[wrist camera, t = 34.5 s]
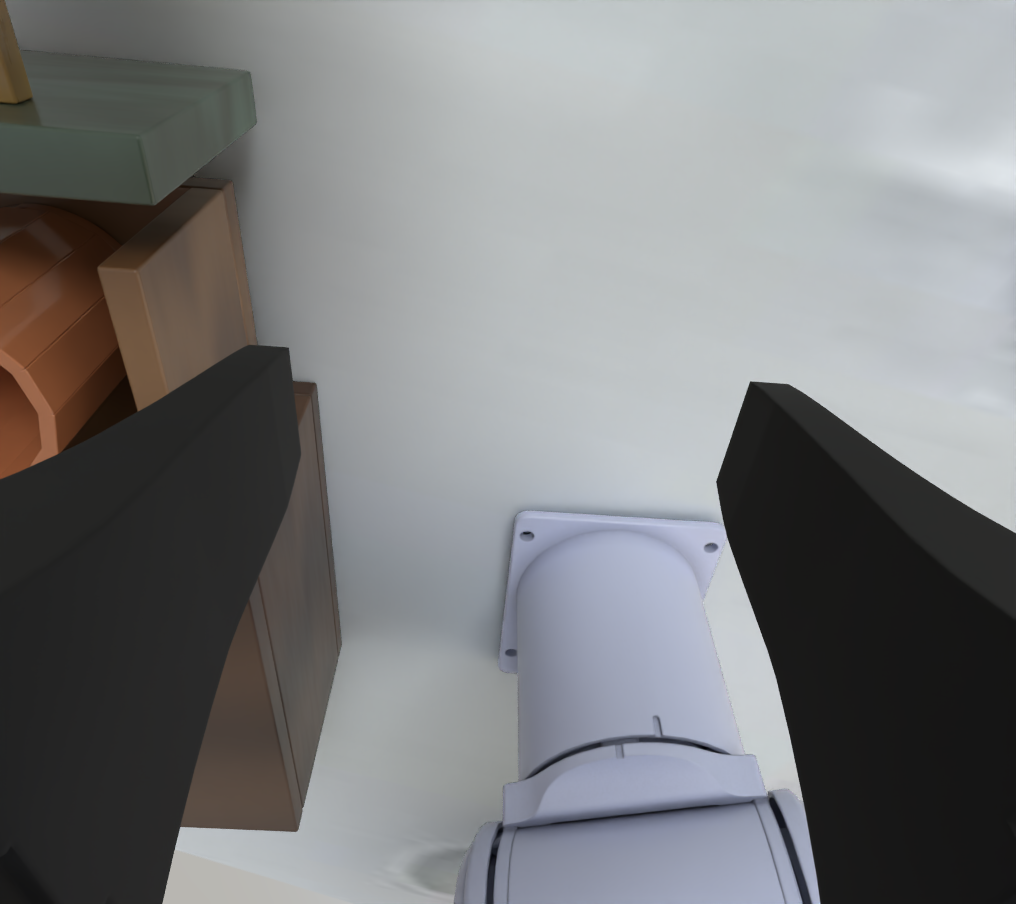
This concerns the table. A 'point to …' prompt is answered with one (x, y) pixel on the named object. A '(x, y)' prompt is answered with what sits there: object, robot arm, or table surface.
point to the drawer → (137, 199)
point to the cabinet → (276, 666)
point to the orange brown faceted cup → (52, 332)
